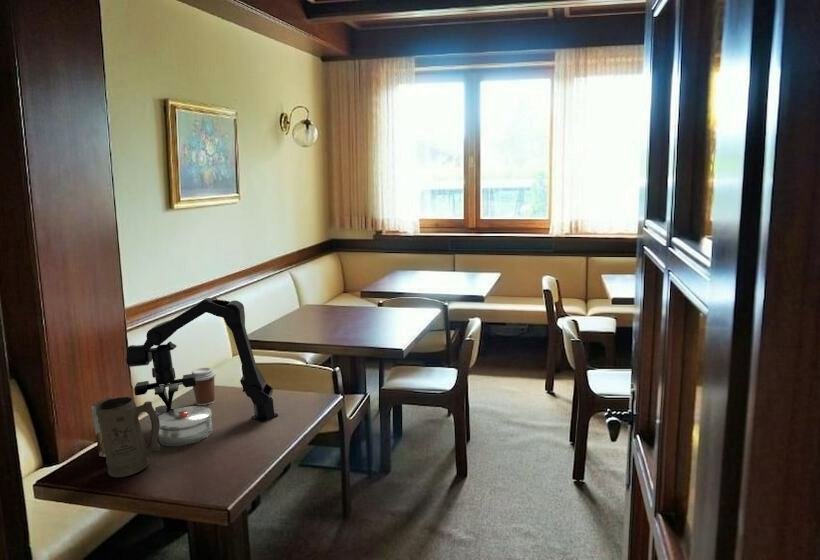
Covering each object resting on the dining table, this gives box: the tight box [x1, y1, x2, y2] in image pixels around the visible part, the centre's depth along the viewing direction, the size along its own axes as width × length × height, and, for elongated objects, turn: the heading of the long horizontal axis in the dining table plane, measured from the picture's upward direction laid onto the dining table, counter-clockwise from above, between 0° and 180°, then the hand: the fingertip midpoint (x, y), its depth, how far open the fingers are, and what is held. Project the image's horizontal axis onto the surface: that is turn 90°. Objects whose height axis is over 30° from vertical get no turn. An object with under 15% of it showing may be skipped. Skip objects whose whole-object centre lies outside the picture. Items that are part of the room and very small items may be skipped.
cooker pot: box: [157, 413, 214, 447], centre depth 203 cm, size 22×16×5 cm
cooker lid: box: [154, 404, 213, 430], centre depth 202 cm, size 23×17×2 cm
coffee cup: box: [191, 367, 217, 406], centre depth 230 cm, size 9×9×12 cm
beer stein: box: [96, 396, 161, 478], centre depth 179 cm, size 15×11×20 cm
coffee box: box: [90, 397, 114, 458], centre depth 189 cm, size 9×6×16 cm
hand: (169, 409), depth 210 cm, fingers closed
